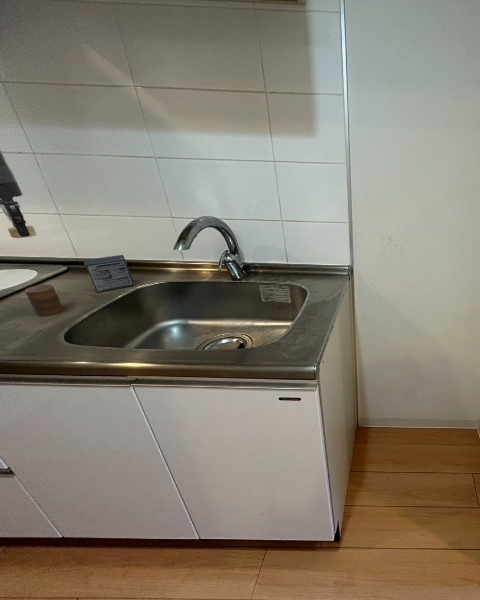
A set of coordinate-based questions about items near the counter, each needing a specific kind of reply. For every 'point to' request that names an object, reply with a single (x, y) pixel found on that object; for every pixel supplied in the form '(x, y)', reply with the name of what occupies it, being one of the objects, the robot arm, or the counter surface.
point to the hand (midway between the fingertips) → (23, 234)
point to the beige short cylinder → (15, 233)
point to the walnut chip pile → (44, 300)
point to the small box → (109, 273)
